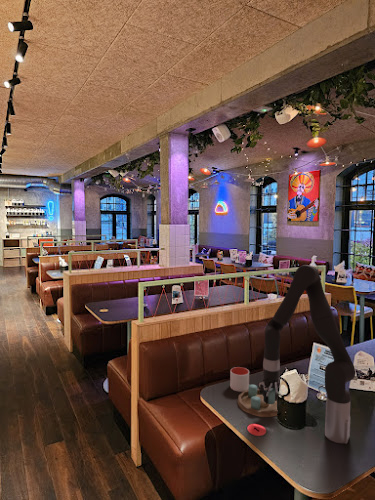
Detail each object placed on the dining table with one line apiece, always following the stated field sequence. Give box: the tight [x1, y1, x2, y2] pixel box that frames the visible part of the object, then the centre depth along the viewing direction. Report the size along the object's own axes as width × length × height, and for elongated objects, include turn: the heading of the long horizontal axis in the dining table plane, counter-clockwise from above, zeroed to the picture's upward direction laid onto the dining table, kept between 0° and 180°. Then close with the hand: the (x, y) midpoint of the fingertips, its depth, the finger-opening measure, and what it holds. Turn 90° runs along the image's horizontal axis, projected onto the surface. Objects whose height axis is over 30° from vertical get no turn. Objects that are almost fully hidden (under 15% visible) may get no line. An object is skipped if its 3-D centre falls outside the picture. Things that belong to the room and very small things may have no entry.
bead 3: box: [267, 388, 275, 404], centre depth 165 cm, size 4×4×6 cm
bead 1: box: [248, 384, 258, 398], centre depth 177 cm, size 4×4×6 cm
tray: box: [237, 388, 278, 418], centre depth 171 cm, size 23×23×3 cm
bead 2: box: [251, 396, 260, 411], centre depth 165 cm, size 4×4×6 cm
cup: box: [229, 366, 250, 393], centre depth 187 cm, size 10×10×10 cm
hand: (270, 401), depth 165 cm, fingers closed on bead 3, 4 cm apart
